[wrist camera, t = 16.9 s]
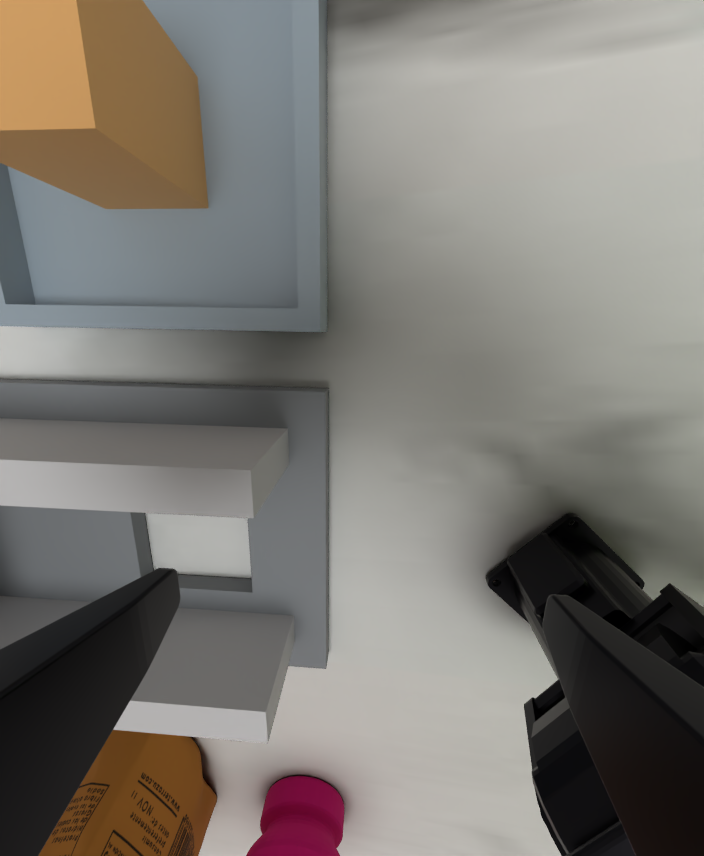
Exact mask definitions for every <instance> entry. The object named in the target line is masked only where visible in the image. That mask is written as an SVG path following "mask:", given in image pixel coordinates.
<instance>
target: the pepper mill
mask: <svg viewBox="0 0 704 856" xmlns="http://www.w3.org/2000/svg"><path fill="white" fill-rule="evenodd" d="M343 822H344V803H343V800H342V798H341V796H340V795H339V793H338V792H337V791H336V790H335V789H334V788H333V787H332V786H330V785H329V784H328V783H326V782H324V781H322V780H319V779H316V778H313V777H306V776H291V777H287V778H284V779H281V780H279V781H278V782H276V783H275V784H274V785H272V787H271V788H270V789H269V791H268V793H267V796H266V799H265V804H264V808H263V812H262V816H261V821H260V827H261V832H262V834H263V835H262V836H261V837H260V838H259V839H258V840H257V841H256V842H255V843H254V845H253V846H252V847H251V848H250V850H249V852H248V853H247V855H246V856H340V855H339V853H338V851H337V849H336V848H337V847H338V846H339V844H340V842H341V840H342V837H343Z"/></svg>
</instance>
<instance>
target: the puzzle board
mask: <svg viewBox="0 0 704 856" xmlns="http://www.w3.org/2000/svg"><path fill="white" fill-rule="evenodd" d="M145 513H158V514H177V515H197V516H216V517H236V518H248V531H249V546H250V560H251V575H252V579H243V578H227V577H210V576H194V575H178V580H179V588H180V597H181V598H180V604H179V607H178V609H177V611H176V613H175V615H174V618H173V620H172V622H171V624H170V626H169V628H168V630H167V632H166V634H165V636H164V638H163V641H162V643H161V645H160V647H159V649H158V651H157V653H156V655H155V657H154V659H153V661H152V663H151V665H150V667H149V669H148V671H147V673H146V675H145V676H144V678H143V680H142V682H141V683H140V685H139V687H138V688H137V690H136V692H135V693H134V695H133V697H132V699H131V700H130V702H129V704H128V705H127V707H126V709H125V710H124V712H123V714H122V715H121V717H120V719H119V720H118V722H117V724H116V726H115V727H114V729H113V730H122V731H133V732H145V733H156V734H167V735H178V736H189V737H200V738H212V739H223V740H234V741H245V742H256V743H268V741H269V737H270V733H271V729H272V726H273V722H274V718H275V714H276V710H277V707H278V703H279V699H280V695H281V691H282V688H283V684H284V680H285V676H286V672H287V669H288V666H296V667H309V668H322V669H326V666H327V659H328V653H329V388H300V387H265V386H230V385H195V384H160V383H125V382H90V381H55V380H20V379H0V649H2V648H4V647H6V646H8V645H10V644H12V643H13V642H15V641H17V640H19V639H21V638H23V637H25V636H27V635H29V634H31V633H33V632H35V631H37V630H39V629H41V628H43V627H45V626H47V625H49V624H51V623H53V622H54V621H56V620H58V619H60V618H62V617H64V616H66V615H68V614H70V613H72V612H74V611H76V610H78V609H80V608H82V607H84V606H86V605H88V604H90V603H92V602H94V601H95V600H97V599H99V598H101V597H103V596H105V595H107V594H109V593H111V592H113V591H115V590H117V589H119V588H121V587H123V586H125V585H127V584H129V583H131V582H133V581H135V580H136V579H138V578H140V577H142V576H144V575H146V574H148V573H150V572H152V571H153V564H152V558H151V551H150V545H149V538H148V532H147V525H146V519H145Z"/></svg>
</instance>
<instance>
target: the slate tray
mask: <svg viewBox="0 0 704 856" xmlns="http://www.w3.org/2000/svg"><path fill="white" fill-rule="evenodd" d="M143 2H144V3H145V4H146V6H147V7H148V9H149V10H150V11H151V13H152V14H153V15H154V17H155V18H156V20H157V21H158V22H159V24H160V25H161V27H162V28H163V29H164V31H165V32H166V34H167V35H168V36H169V38H170V39H171V41H172V42H173V43H174V45H175V46H176V48H177V49H178V50H179V52H180V53H181V55H182V56H183V57H184V59H185V60H186V62H187V63H188V64H189V66H190V67H191V69H192V70H193V71H194V73H195V74H196V76H197V77H198V88H199V100H200V112H201V124H202V136H203V148H204V160H205V172H206V184H207V196H208V208H200V209H105V208H102V207H100V206H98V205H95V204H93V203H91V202H89V201H86V200H84V199H82V198H79V197H77V196H75V195H73V194H70V193H68V192H66V191H63V190H61V189H59V188H57V187H54V186H52V185H50V184H47V183H45V182H43V181H41V180H38V179H36V178H34V177H31V176H29V175H27V174H25V173H22V172H20V171H18V170H16V169H13V168H11V167H9V166H6V165H4V164H2V163H0V326H26V327H79V328H131V329H183V330H236V331H288V332H327V0H143Z"/></svg>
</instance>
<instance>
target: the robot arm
mask: <svg viewBox="0 0 704 856" xmlns="http://www.w3.org/2000/svg"><path fill="white" fill-rule="evenodd" d="M571 521H574V523H573V524H572V525H569V523H570V522H571ZM496 579H498V581H497V582H493V581H494V580H496ZM486 581H487V584H488V586H489V587H490V588H491V589H492V590H493V591H494V592H495V593H496V594H497V595H498V596H500V597H501V598H502V599H503V600H504V601H505V602H506V603H507V604H508V605H510V606H511V607H512V608H513V609H514V610H515V611H516V612H517V613H518V614H520V615H521V616H522V617H523V618H524V619H525V620H526V621H527V622H528V623H529V624H530V626H531V628H532V629H533V631H534V633H535V635H536V637H537V639H538V641H539V643H540V645H541V647H542V649H543V651H544V653H545V655H546V657H547V659H548V661H549V662H550V664H551V666H552V668H553V670H554V672H555V674H556V676H557V678H558V680H557V681H556V682H555V683H554V684H552V685H551V686H550V687H549V688H548V689H546V690H545V691H544V692H543V693H541V694H540V695H539V696H538V697H537V698H531V699H530V700H529V701H528V702H526V703H525V704H524V710H525V717H526V725H527V733H528V740H529V748H530V756H531V763H532V778H533V784H534V786H535V792H536V796H537V801H538V804H539V807H540V812H541V816H542V818H543V820H544V822H545V824H546V826H547V828H548V830H549V832H550V834H551V837H552V838H553V840H554V842H555V844H556V846H557V848H558V849H559V851H560V853H561V855H562V856H704V607H702V606H701V605H699V604H698V603H697V602H695V601H694V600H693V599H691V598H690V597H688V596H687V595H686V594H684V593H683V592H681V591H680V590H679V589H677V588H676V587H675V586H673V585H672V584H670V583H669V584H668V585H667V586H666V587H665V588H663V589H662V590H661V591H660V593H661V595H660V596H659V597H657V598H656V599H655V600H654V601H653V600H652V599H651V598H650V597H649V596H648V595H647V594H646V593H645V592H644V591H643V590H642V589H643V587H644V581H643V580H642V579H641V578H640V577H639V576H638V575H637V574H636V573H635V572H634V571H633V570H632V569H631V568H630V567H629V566H628V565H627V564H626V563H625V562H624V561H623V560H622V559H621V558H620V557H619V556H618V555H617V554H616V553H615V552H614V551H613V550H612V549H611V548H610V547H609V546H608V545H607V544H606V543H605V542H604V541H603V540H602V539H601V538H600V537H599V536H598V535H597V534H596V533H595V532H594V531H593V530H592V529H591V528H590V527H588V526H587V525H586V524H585V523H584V522H583V521H582V520H581V519H580V518H579V517H578V516H577V515H576V514H573V513H569V514H566V515H564V516H563V517H561V518H560V519H559V520H558V521H556V522H555V523H554V524H552V525H551V526H550V527H549V528H547V529H546V530H545V531H543V532H542V533H541V534H539V535H538V536H537V537H535V538H534V539H533V540H532V541H530V542H529V543H528V544H526V545H525V546H524V547H522V548H521V549H520V550H519V551H517V552H516V553H515V554H513V555H512V556H511V557H509V558H508V559H507V560H506V561H504V562H503V563H502V564H501V565H499V566H498V567H497V568H495V569H494V570H493V571H491V572H490V573H489V574H488V575H487V577H486ZM180 598H181V597H180V588H179V580H178V573H177V571H176V570H175V569H169V568H158V569H156V570H154V571H152V572H150V573H148V574H146V575H144V576H142V577H140V578H138V579H136V580H135V581H133V582H131V583H129V584H127V585H125V586H123V587H121V588H119V589H117V590H115V591H113V592H111V593H109V594H107V595H105V596H103V597H101V598H99V599H97V600H95V601H94V602H92V603H90V604H88V605H86V606H84V607H82V608H80V609H78V610H76V611H74V612H72V613H70V614H68V615H66V616H64V617H62V618H60V619H58V620H56V621H54V622H53V623H51V624H49V625H47V626H45V627H43V628H41V629H39V630H37V631H35V632H33V633H31V634H29V635H27V636H25V637H23V638H21V639H19V640H17V641H15V642H13V643H12V644H10V645H8V646H6V647H4V648H2V649H0V856H39V854H40V852H41V850H42V849H43V847H44V845H45V844H46V842H47V840H48V839H49V837H50V835H51V834H52V832H53V830H54V829H55V827H56V825H57V823H58V822H59V820H60V818H61V817H62V815H63V813H64V812H65V810H66V808H67V807H68V805H69V803H70V802H71V800H72V798H73V796H74V795H75V793H76V791H77V790H78V788H79V786H80V785H81V783H82V781H83V780H84V778H85V776H86V774H87V773H88V771H89V769H90V768H91V766H92V764H93V763H94V761H95V759H96V758H97V756H98V754H99V753H100V751H101V749H102V747H103V746H104V744H105V742H106V741H107V739H108V737H109V736H110V734H111V732H112V731H113V729H114V727H115V726H116V724H117V722H118V720H119V719H120V717H121V715H122V714H123V712H124V710H125V709H126V707H127V705H128V704H129V702H130V700H131V699H132V697H133V695H134V693H135V692H136V690H137V688H138V687H139V685H140V683H141V682H142V680H143V678H144V676H145V675H146V673H147V671H148V669H149V667H150V665H151V663H152V661H153V659H154V657H155V655H156V653H157V651H158V649H159V647H160V645H161V643H162V641H163V638H164V636H165V634H166V632H167V630H168V628H169V626H170V624H171V622H172V620H173V618H174V615H175V613H176V611H177V609H178V607H179V604H180Z"/></svg>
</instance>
